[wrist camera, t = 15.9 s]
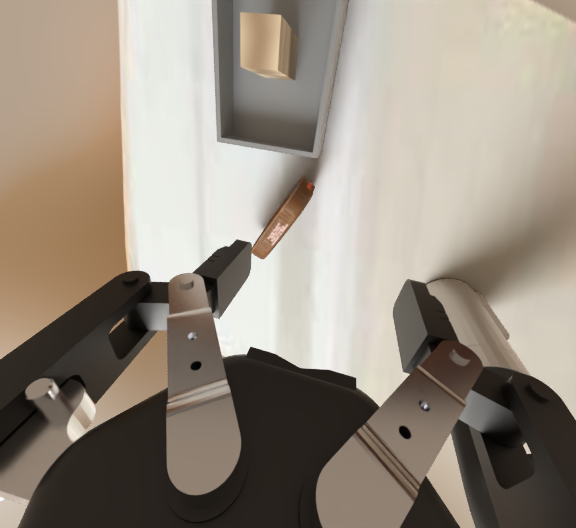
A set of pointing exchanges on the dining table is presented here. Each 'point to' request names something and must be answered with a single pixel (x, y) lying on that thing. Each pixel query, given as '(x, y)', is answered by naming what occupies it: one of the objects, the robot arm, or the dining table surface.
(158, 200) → the dining table surface
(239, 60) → the bin
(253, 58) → the wooden block
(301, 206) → the tin
